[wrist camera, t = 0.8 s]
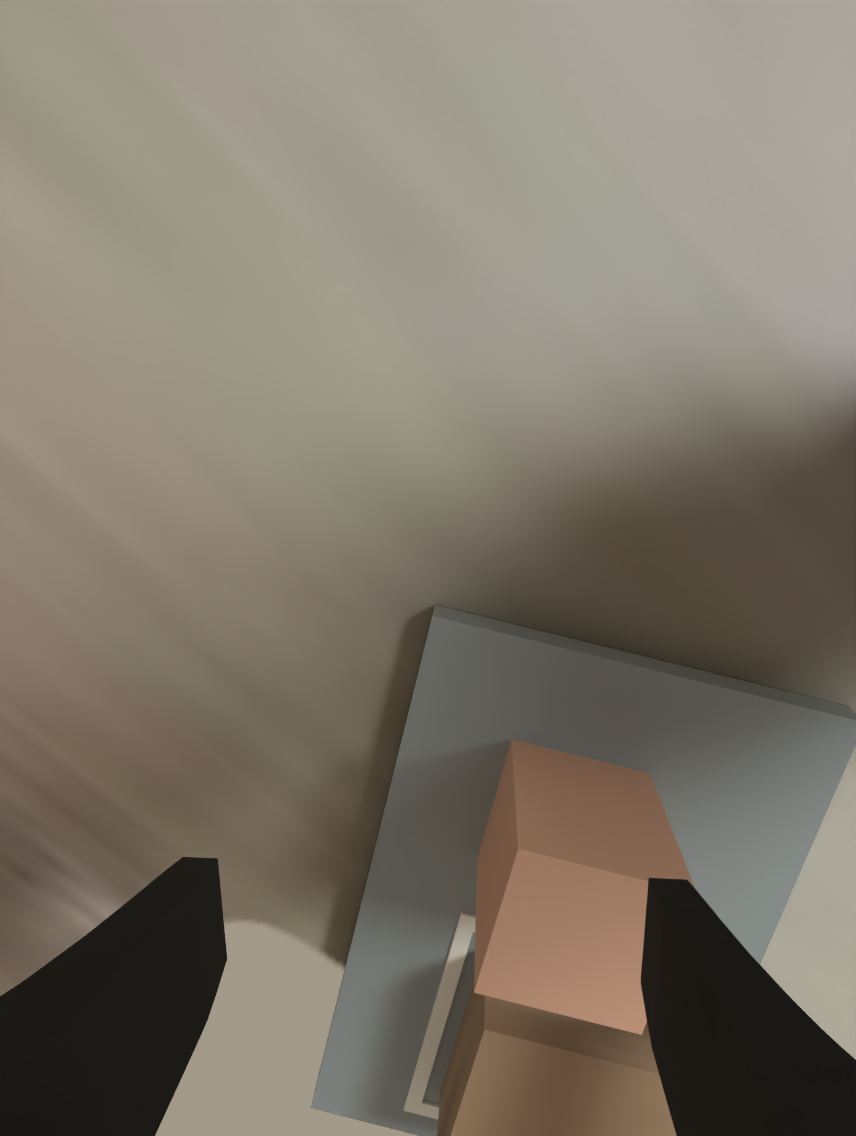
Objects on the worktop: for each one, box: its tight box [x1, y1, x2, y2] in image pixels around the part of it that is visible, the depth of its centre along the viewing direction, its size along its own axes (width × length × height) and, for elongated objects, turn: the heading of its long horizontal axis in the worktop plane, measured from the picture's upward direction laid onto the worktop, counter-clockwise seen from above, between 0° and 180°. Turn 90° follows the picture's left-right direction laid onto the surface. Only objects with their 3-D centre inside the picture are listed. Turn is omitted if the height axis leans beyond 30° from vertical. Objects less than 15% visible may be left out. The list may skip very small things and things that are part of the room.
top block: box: [474, 739, 695, 1035], centre depth 19 cm, size 4×4×5 cm
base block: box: [437, 984, 676, 1136], centre depth 23 cm, size 6×6×3 cm
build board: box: [311, 605, 856, 1136], centre depth 23 cm, size 12×18×1 cm, turn 167°
